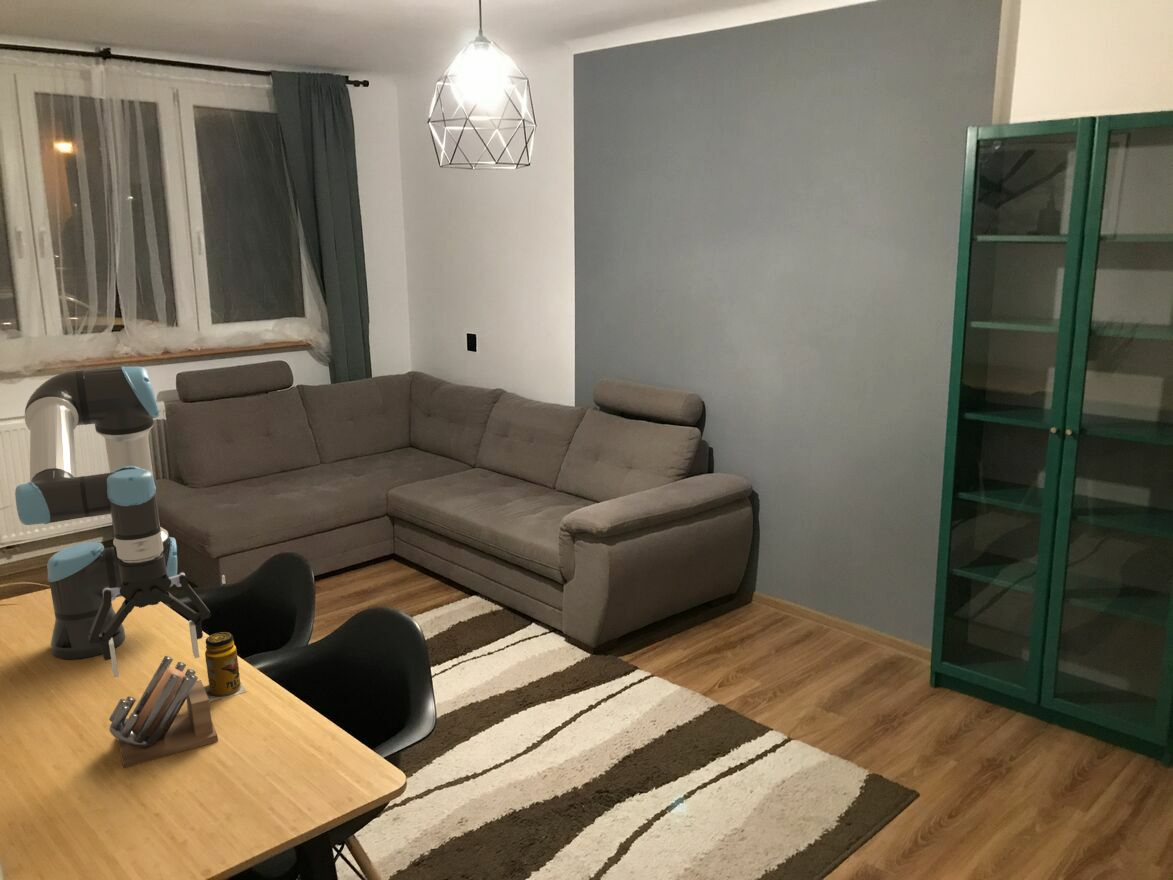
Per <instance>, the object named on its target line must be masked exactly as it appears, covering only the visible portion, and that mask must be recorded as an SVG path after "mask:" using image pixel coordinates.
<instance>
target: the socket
mask: <svg viewBox="0 0 1173 880" xmlns="http://www.w3.org/2000/svg"><path fill="white" fill-rule="evenodd" d="M173 660H174V659H173V658H172V657H171V656H168V655H164V657H163V659H162V660H161V662H160V664H159V666H158V667H157V669H156V671H155V673H154V674H153V676H152V678H151V680H150V681H149V684H148V685H147V686H146V688H145V690H144V692H143V694H142V696H141V697H140V699H139V701H138V703H137V704H136V706H135V707H134V709H133V711H132V712H131V713H130V711H131V709H132V708H133V706H134V705H135V703H136V701H137V699H136V698H134V697H133V696H126V698H125V699H124V698H120V699H119V701H118V702H117V705H116V706H115V708H114V709H113V711H112V713H111V715H110V716H109V719H108V720H109V722H111V723H110V725H109V732H110V734H112V736H113V737H114V738H115V739H117V740H120V741H122V742H123V743H126V744H128V745H131V746H134V747H137V748H145V749H147V748H149V747H150V746H152V745H155V744H156V743H157V741H161V740H163V739H164V737H165V735H166V734H167V732H168V730H169V728H170V727H171V725H172V723H173V721H174V720H175V718H176V716H177V715H179V712H180V710H181V709H182V707H183V705H184V703H185V702H186V701H187V700H186V698H187V697H188V695H189V693H190V691H191V690H192V688H193V686H194V684H195V683H196V681H198V679H199V677H198V676H197V675H195V674H196V673H197V672H196V671H195V670H194V669H192V668H187V669H186V671H185V668H186V667H187V664H186V663H184V662H183V661H177V664H176V665H175V667H174V668H175V669H178V670H180V671H182V672H183V673H184V671H185V673H184V674H186V676H187V677H185V676H184V677H183V679H182V681H181V682H180V684H179V686H178V688H177V689H176V691H175V693H174V695H173V696H172V698H171V700H170V702H169V703H168V705H167V707H166V709H165V710H164V712H163V714H162V716H161V717H160V719H159V721H158V723H157V725H156V726H155V728H154V730H153V732H152V733H151V735H150V736H147V734H148V732H149V731H150V729H151V727H152V725H153V724H154V722H155V720H156V718H157V717H158V715H159V713H160V711H161V710H162V708H163V706H164V704H165V703H166V701H167V699H168V697H169V696H170V694H171V692H172V690H173V689H174V687H175V685H176V683H177V682H178V680H179V676H177V675H175V674H171V676H170V677H169V679H168V681H167V683H166V684H165V686H164V688H163V690H162V691H161V693H160V695H159V697H158V698H157V700H156V702H155V704H154V705H153V707H152V709H151V711H150V712H149V714H148V716H147V718H146V719H145V721H144V723H143V725H142V726H141V728H140V730H139V732H138V733H137V732H136V731H135V730H134V729H133V728H134V726H135V725H136V723H137V721H138V719H139V718H140V715H139V714H140V712H141V711H142V709H143V707H144V706H145V704H146V702H147V701H148V699H149V697H150V696H151V694H152V692H153V691H154V689H155V688H156V686H157V684H158V683H159V681H160V679H161V678H162V676H163V674H164V673H165V671H166V669H167V668H170V666H171V665H172V662H173ZM129 713H130V715H129ZM128 715H129V717H128Z"/></svg>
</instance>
